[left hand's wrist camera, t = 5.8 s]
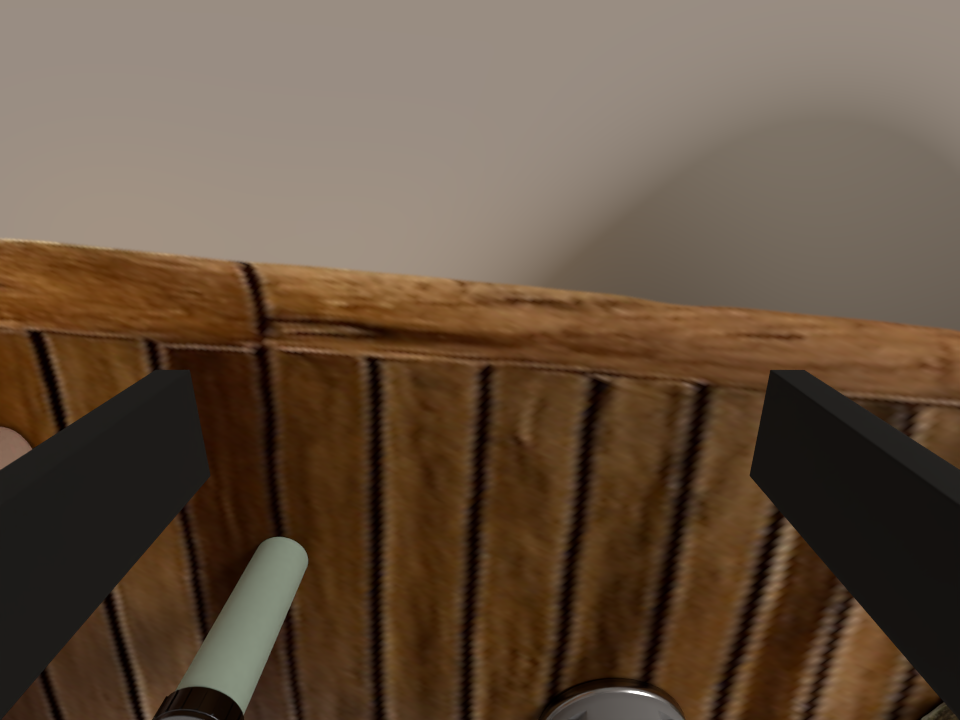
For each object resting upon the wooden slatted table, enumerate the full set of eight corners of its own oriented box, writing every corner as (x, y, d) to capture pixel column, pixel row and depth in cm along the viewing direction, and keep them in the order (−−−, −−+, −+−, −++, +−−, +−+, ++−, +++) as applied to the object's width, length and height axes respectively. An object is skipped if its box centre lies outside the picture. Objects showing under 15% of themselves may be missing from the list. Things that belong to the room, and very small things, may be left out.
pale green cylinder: (245, 548, 48) (137, 726, 33) (290, 529, 47) (200, 702, 32) (274, 585, 49) (183, 773, 34) (317, 567, 49) (244, 751, 33)
